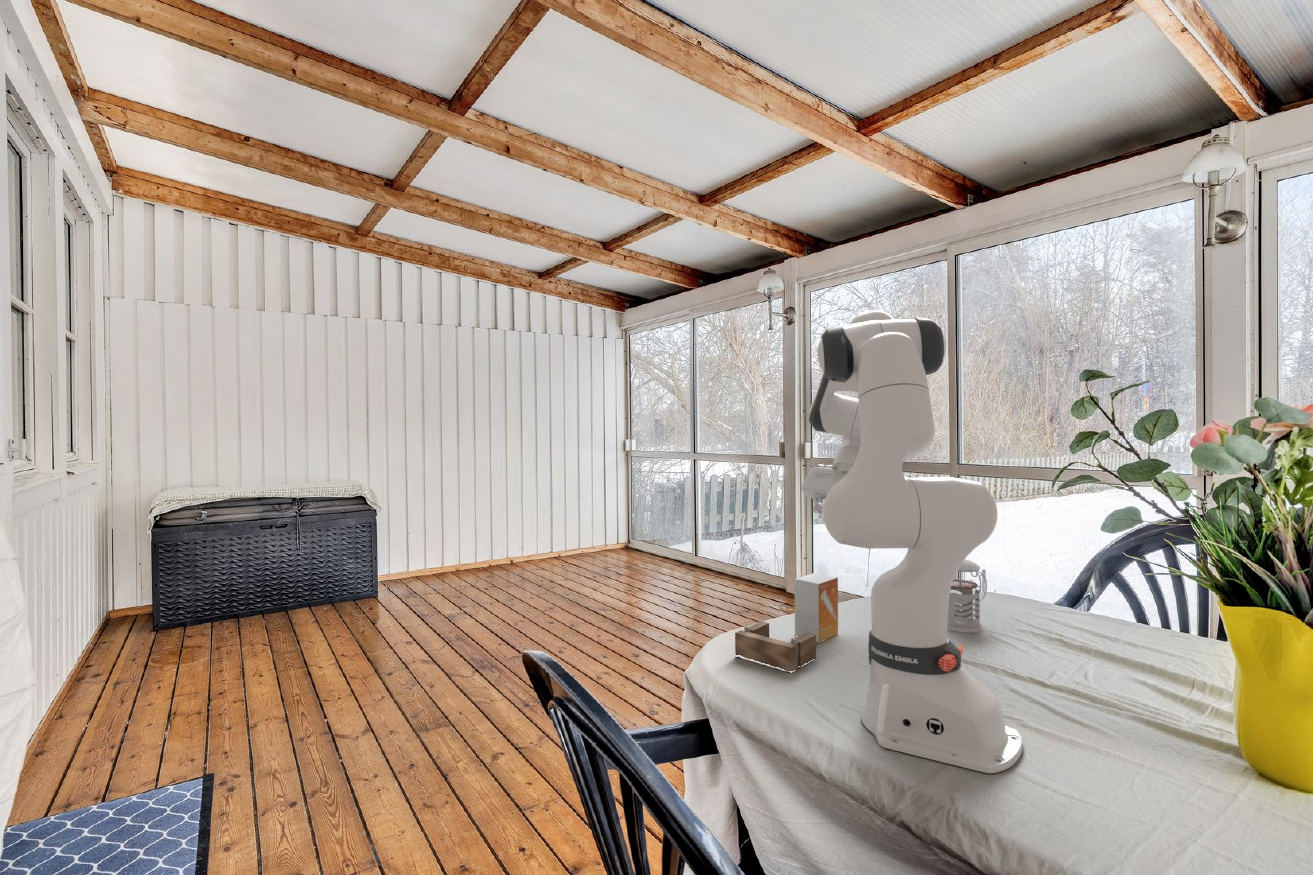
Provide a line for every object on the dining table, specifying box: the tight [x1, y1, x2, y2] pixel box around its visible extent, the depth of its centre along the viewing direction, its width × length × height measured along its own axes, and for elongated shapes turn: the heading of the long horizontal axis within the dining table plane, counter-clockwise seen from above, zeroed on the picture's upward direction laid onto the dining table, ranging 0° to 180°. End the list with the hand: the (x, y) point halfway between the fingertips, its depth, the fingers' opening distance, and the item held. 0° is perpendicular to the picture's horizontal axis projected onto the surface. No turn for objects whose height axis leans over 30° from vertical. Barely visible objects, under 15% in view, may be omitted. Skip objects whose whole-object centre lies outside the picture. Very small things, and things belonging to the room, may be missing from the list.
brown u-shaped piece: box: [734, 620, 817, 671], centre depth 129 cm, size 13×10×6 cm
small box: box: [793, 572, 839, 644], centre depth 141 cm, size 8×6×13 cm
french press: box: [947, 559, 988, 634], centre depth 146 cm, size 10×12×25 cm
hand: (834, 514), depth 150 cm, fingers open, 8 cm apart
